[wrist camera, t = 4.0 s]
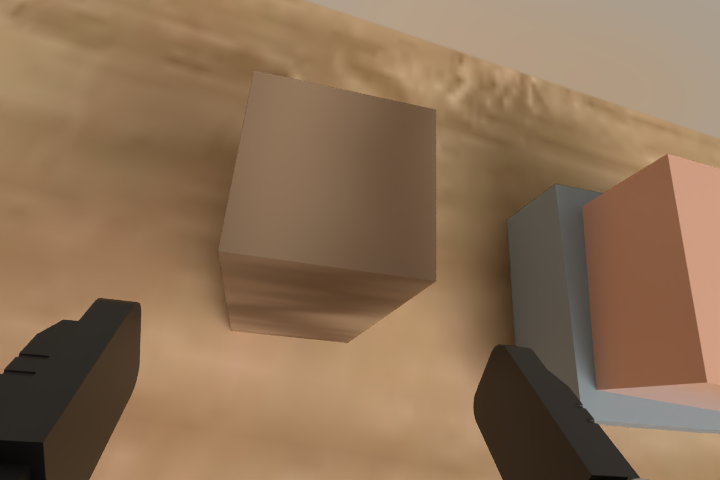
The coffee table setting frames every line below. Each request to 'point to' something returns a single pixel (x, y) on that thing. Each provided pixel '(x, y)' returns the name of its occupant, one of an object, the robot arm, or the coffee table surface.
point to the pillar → (327, 210)
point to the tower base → (574, 312)
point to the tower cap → (657, 284)
